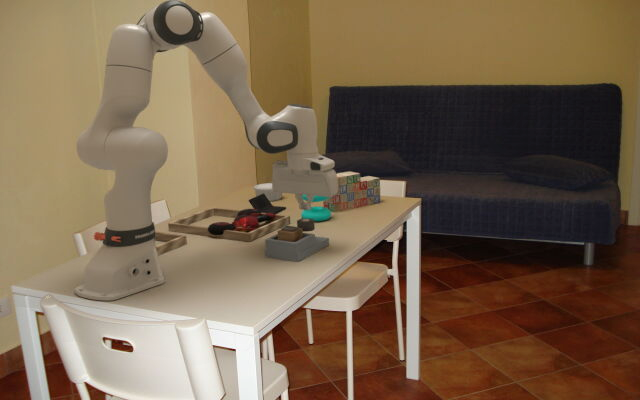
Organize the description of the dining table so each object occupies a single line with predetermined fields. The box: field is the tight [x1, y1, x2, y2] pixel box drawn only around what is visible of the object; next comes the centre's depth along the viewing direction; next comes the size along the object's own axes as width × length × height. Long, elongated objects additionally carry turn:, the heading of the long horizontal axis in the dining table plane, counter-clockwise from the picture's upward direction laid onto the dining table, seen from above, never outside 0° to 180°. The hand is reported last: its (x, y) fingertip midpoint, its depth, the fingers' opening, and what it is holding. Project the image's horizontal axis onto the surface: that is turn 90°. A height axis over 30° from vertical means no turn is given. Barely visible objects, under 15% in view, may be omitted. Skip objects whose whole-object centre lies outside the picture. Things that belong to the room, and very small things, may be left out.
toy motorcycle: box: [208, 208, 276, 235], centre depth 210 cm, size 25×5×16 cm
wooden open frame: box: [167, 206, 291, 243], centre depth 213 cm, size 23×32×2 cm
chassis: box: [263, 232, 330, 262], centre depth 185 cm, size 17×11×5 cm, turn 150°
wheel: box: [296, 218, 316, 233], centre depth 189 cm, size 5×5×3 cm
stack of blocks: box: [322, 171, 381, 213], centre depth 235 cm, size 21×6×12 cm, turn 125°
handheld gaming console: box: [248, 193, 287, 214], centre depth 232 cm, size 12×7×10 cm
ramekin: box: [253, 182, 283, 202], centre depth 251 cm, size 11×11×5 cm
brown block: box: [277, 225, 304, 242], centre depth 182 cm, size 5×5×6 cm
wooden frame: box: [154, 230, 188, 256], centre depth 195 cm, size 15×19×2 cm
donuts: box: [300, 195, 332, 223], centre depth 219 cm, size 10×10×10 cm
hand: (305, 209), depth 188 cm, fingers closed
